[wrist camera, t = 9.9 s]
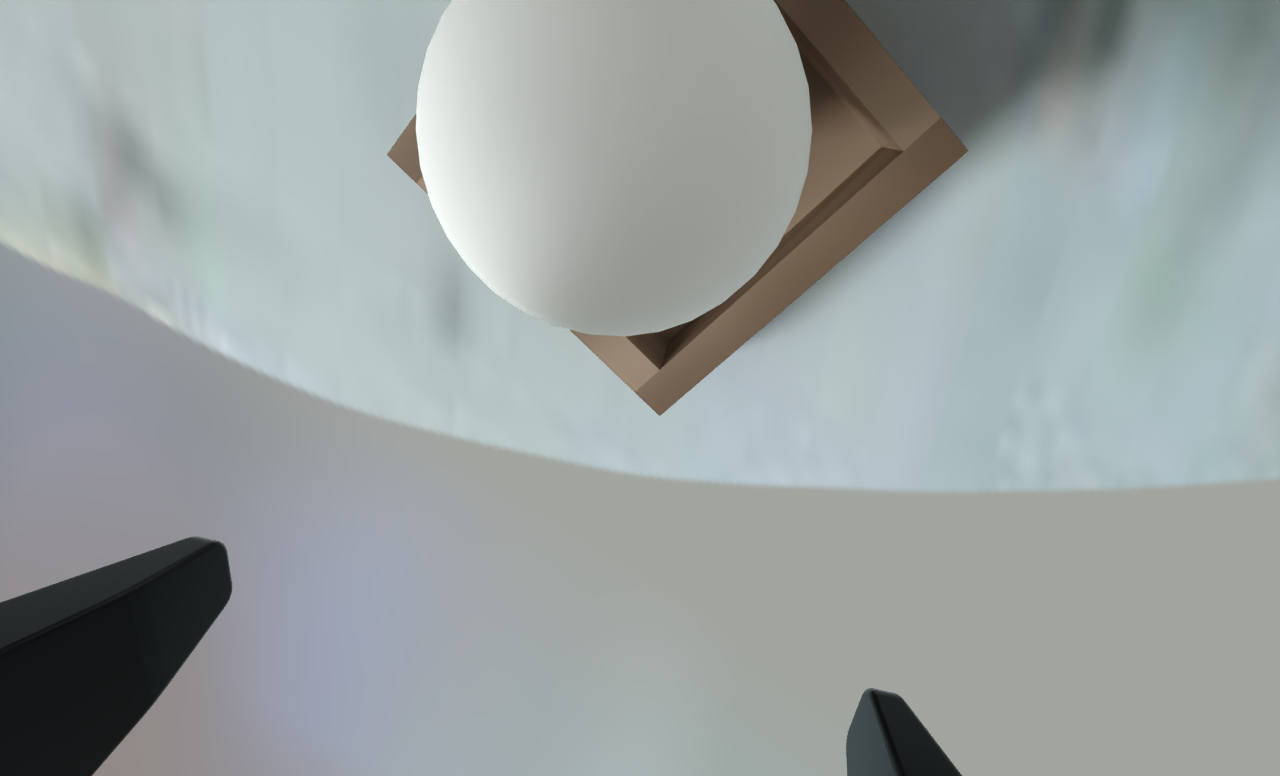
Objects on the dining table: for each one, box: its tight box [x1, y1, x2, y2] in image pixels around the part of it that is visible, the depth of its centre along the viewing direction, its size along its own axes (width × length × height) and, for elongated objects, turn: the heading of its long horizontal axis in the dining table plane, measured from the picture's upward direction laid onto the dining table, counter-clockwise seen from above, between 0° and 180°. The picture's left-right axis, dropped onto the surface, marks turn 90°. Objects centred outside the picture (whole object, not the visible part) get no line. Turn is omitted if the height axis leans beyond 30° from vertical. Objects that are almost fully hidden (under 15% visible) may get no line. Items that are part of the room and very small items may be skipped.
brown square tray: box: [387, 0, 968, 416], centre depth 17 cm, size 10×10×4 cm
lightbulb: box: [416, 0, 812, 336], centre depth 12 cm, size 6×6×11 cm
